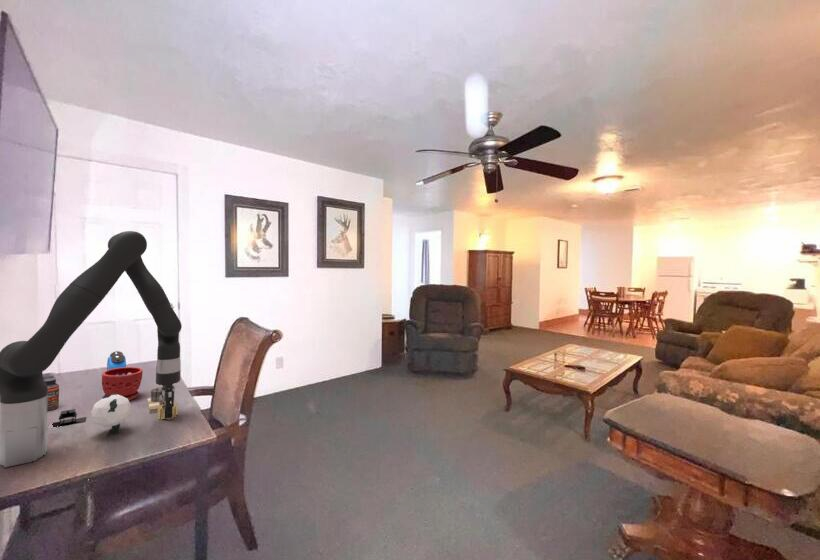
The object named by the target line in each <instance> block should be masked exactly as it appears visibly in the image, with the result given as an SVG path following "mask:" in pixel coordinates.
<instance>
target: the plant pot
mask: <svg viewBox="0 0 820 560" xmlns="http://www.w3.org/2000/svg"><path fill="white" fill-rule="evenodd" d="M123 373H125V375H122V374H123ZM116 374H119V375H116ZM142 379H143V369H142V368H141V367H134V366H126V367H122V368H114V369H110V370H107V369H106V370H105V371H103V372H102V373H101V388H102V391H103V393H104V395H103V396H102V397H104V396H107V394H109V395H113V394H115V393H117V394H118V395H120V396H123V397H125V398H127V399H128V400H129V401H132V400H133V399H135V398H137V397H138V396H139V393H140V392H139V391H138V390H139V389H140V386H141V383H142Z"/></svg>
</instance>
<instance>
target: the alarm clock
mask: <svg viewBox="0 0 820 560" xmlns="http://www.w3.org/2000/svg"><path fill="white" fill-rule="evenodd" d="M106 362H107V363H106V371H107V370H110V369H114V368H122V367H127V360H126V356H125V355H124V353H123V352H122V351H120V350H115V351H113V352H111V353H110V354H109V357H107V361H106ZM116 375H119V374H116ZM122 375H125V373H123V374H122Z"/></svg>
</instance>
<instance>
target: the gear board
mask: <svg viewBox="0 0 820 560" xmlns="http://www.w3.org/2000/svg"><path fill="white" fill-rule="evenodd" d="M161 387H162V386H160V387H155V388H152V389H151V390H150V397H148V398H147V399H146V400H147V401H148V402H147V401H146V402H147V407H148V411H149V412H150V413H149V414H153V413H152V412H154V413H157V407H158V406H160V405H162V404H163V401H162V400H163V399H162V392H161ZM170 403H171V401H170Z"/></svg>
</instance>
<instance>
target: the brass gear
mask: <svg viewBox="0 0 820 560" xmlns="http://www.w3.org/2000/svg"><path fill="white" fill-rule="evenodd" d="M167 404H171V403H167ZM164 406H165V404H162V405H160V406H158V407H157V412H156V419H157V420H158V419H161V420H160V421H163V420H162V419H168V420H171V419H170V418H172V419H174V418H173V417H175V416H176V415H177V414H178V413H179V412H178V411H179V410H178V409H179V408H178V407H179V405H178V403H176V402H174V407H172V417H170V418H165V407H164ZM177 416H178V415H177ZM177 416H176V417H177ZM176 417H175V418H176Z"/></svg>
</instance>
